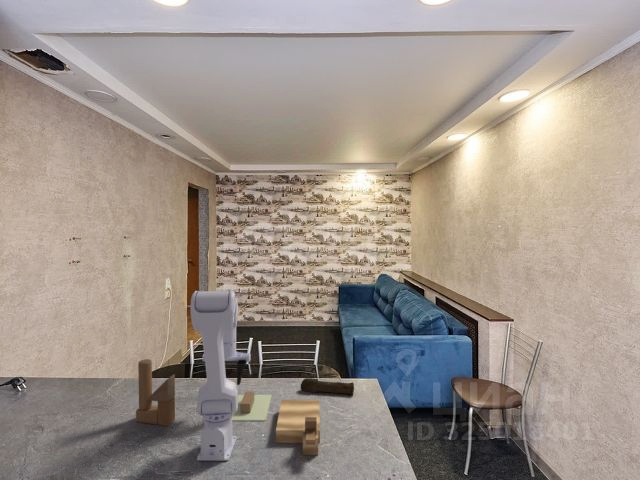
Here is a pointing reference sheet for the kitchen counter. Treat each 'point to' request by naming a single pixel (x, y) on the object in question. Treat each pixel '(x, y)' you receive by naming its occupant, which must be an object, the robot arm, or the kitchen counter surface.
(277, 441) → the wooden slab
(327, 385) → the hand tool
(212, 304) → the robot arm
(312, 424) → the l-shaped wooden piece
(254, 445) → the kitchen counter surface
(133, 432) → the kitchen counter surface
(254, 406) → the lid
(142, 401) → the wooden block
